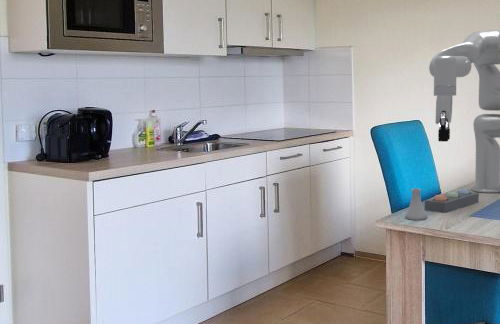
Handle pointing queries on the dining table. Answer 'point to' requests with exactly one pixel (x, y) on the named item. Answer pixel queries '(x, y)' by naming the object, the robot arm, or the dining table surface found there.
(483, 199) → the dining table surface
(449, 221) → the dining table surface
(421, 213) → the flask
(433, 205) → the console
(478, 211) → the dining table surface
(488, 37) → the robot arm
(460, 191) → the slate button
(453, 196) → the sage button
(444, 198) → the terracotta button
